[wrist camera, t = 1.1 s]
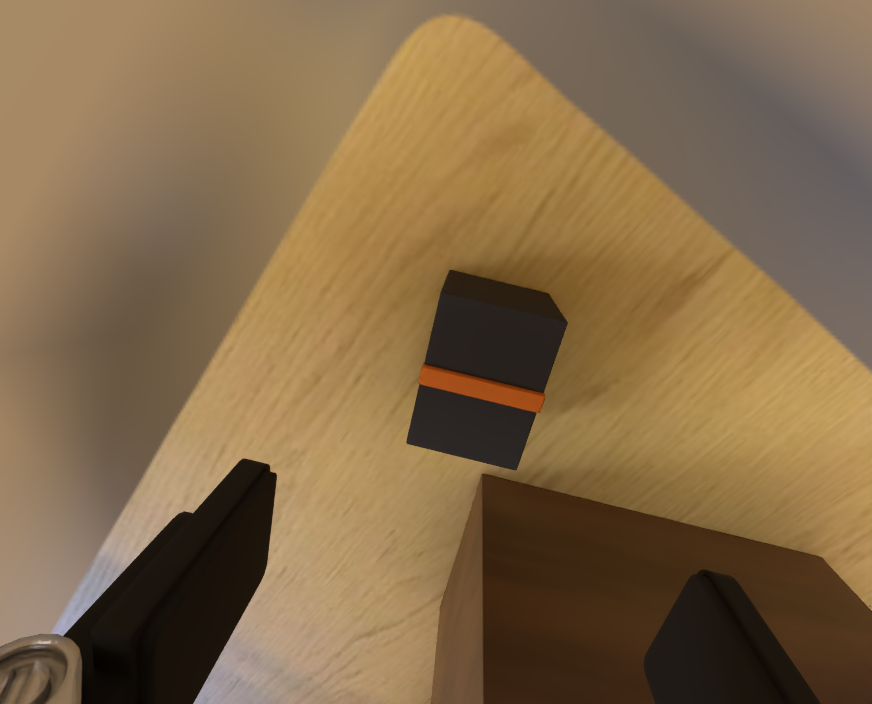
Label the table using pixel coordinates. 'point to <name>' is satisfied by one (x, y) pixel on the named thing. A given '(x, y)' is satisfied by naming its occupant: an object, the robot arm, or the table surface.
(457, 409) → the black banded block
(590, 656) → the brown and grey box
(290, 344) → the table surface
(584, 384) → the table surface
